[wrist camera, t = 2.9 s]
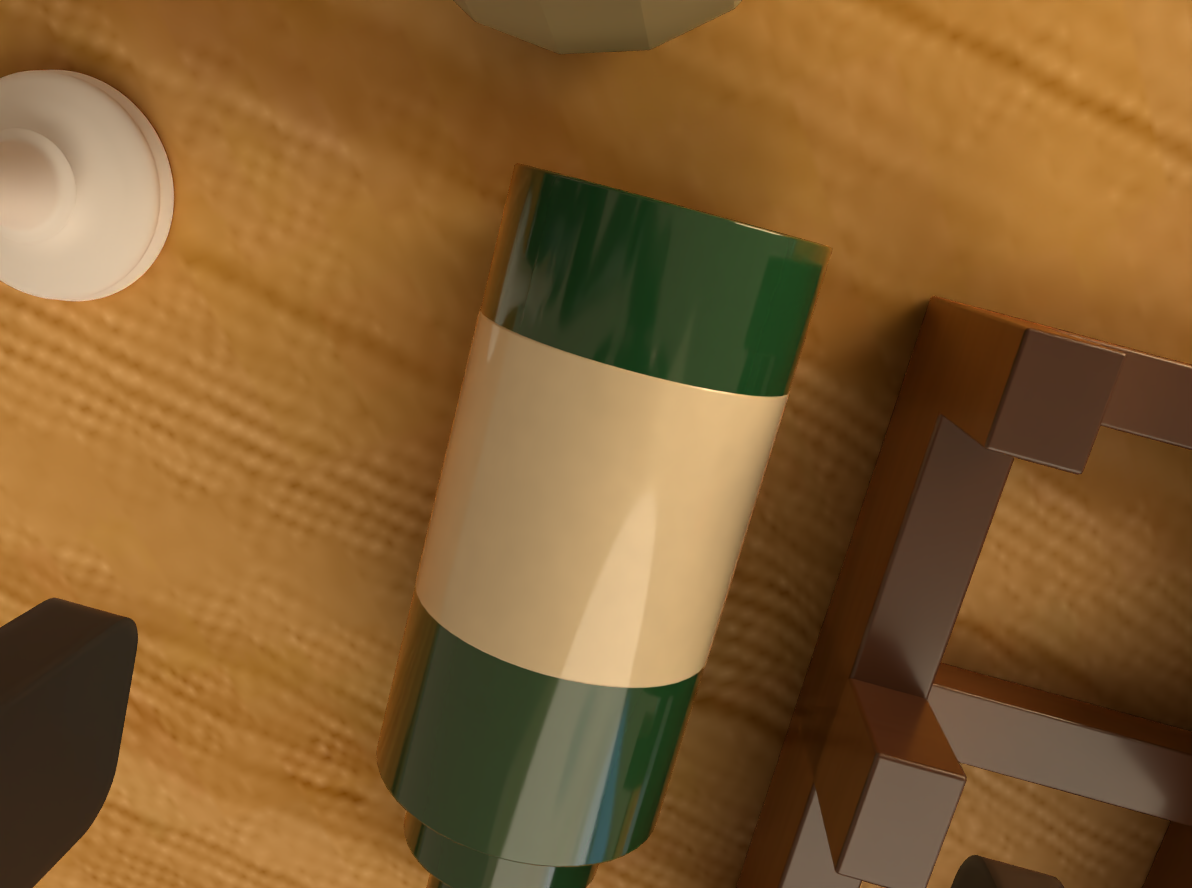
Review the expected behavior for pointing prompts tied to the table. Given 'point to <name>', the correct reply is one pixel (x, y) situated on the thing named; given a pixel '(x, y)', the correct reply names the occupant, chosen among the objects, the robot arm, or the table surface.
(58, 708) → the robot arm
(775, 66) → the table surface
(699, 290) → the bottle
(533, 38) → the squeeze bottle
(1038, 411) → the rack
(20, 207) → the chess piece
